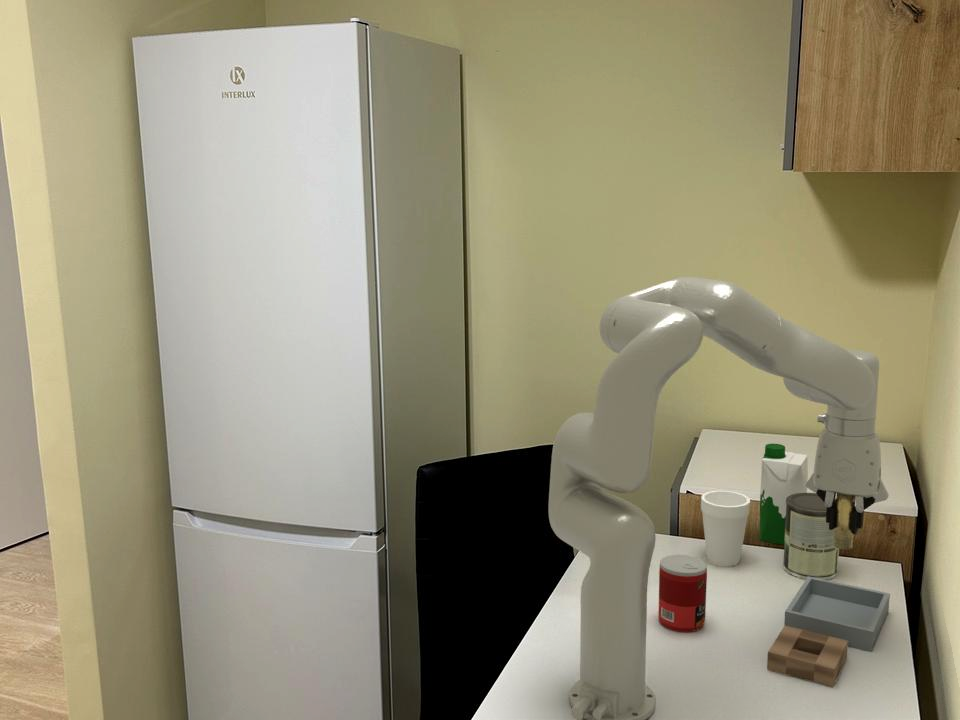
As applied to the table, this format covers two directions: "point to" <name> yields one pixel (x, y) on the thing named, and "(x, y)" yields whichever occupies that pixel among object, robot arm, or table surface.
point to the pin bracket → (808, 655)
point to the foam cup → (724, 525)
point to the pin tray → (839, 611)
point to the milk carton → (779, 489)
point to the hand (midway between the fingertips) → (843, 528)
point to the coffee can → (809, 538)
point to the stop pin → (843, 521)
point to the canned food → (682, 592)
